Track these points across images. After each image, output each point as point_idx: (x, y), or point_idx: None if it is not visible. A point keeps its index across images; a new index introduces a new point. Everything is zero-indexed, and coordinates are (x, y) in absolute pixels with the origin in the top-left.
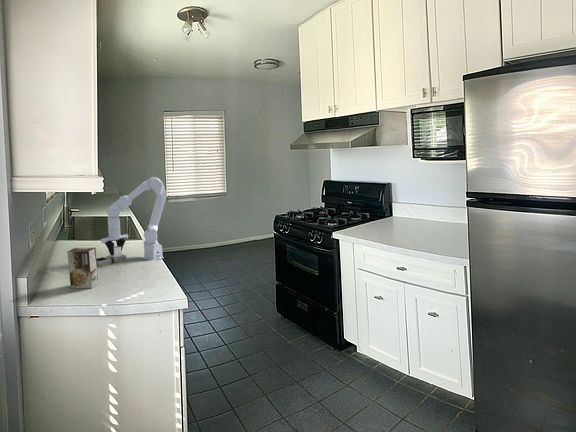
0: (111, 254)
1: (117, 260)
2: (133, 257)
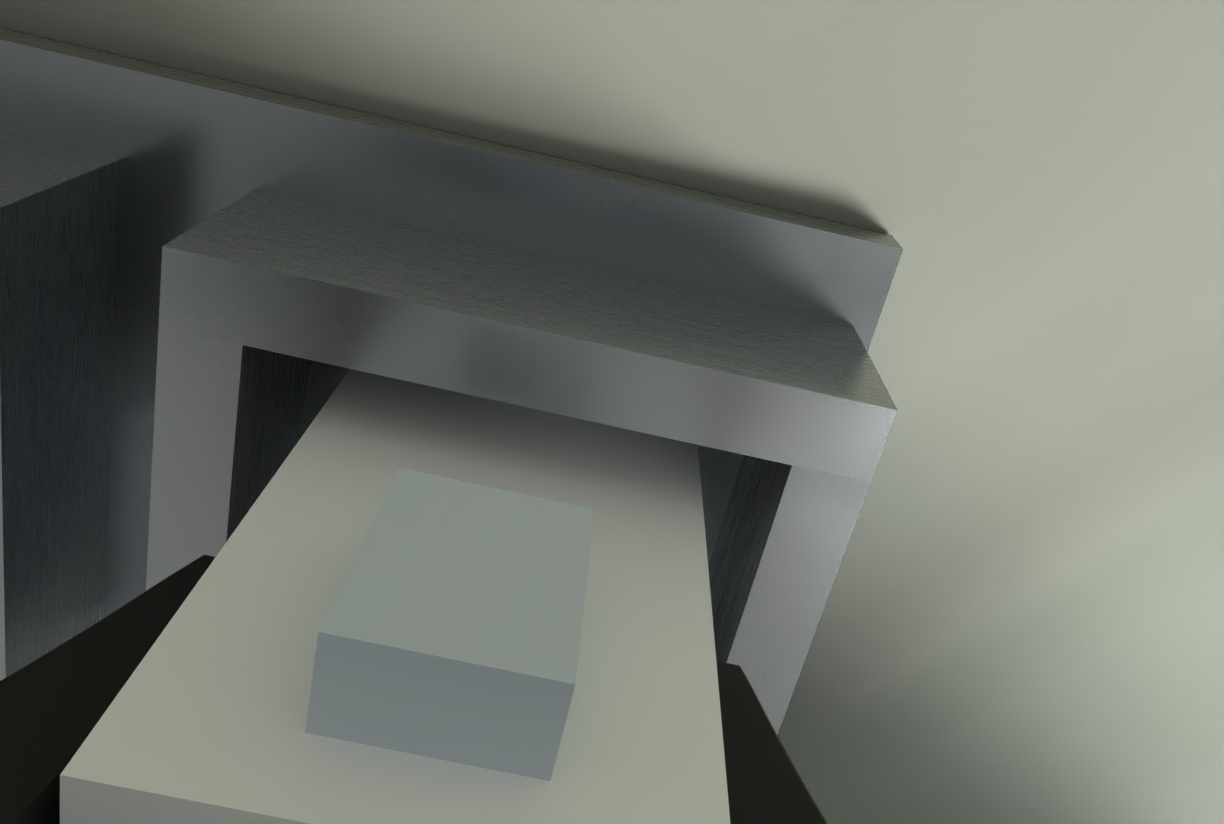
0: None
1: None
2: (1220, 673)
